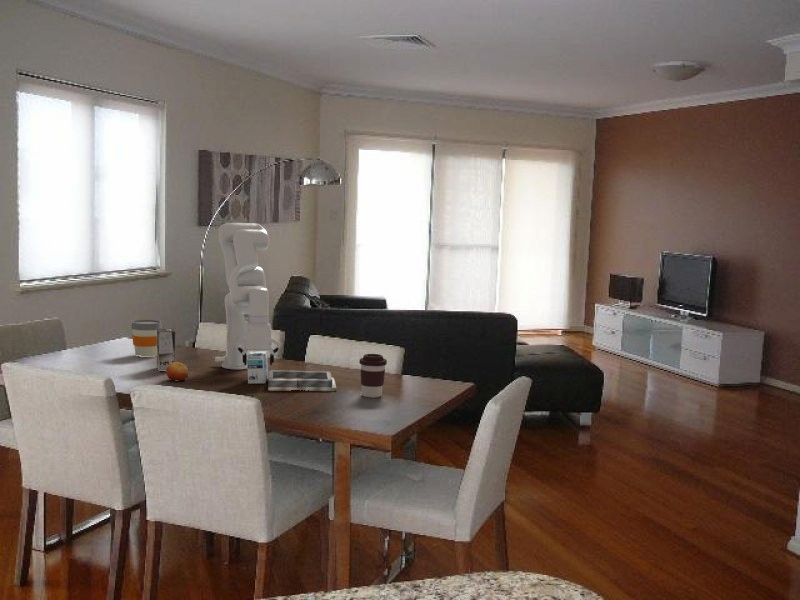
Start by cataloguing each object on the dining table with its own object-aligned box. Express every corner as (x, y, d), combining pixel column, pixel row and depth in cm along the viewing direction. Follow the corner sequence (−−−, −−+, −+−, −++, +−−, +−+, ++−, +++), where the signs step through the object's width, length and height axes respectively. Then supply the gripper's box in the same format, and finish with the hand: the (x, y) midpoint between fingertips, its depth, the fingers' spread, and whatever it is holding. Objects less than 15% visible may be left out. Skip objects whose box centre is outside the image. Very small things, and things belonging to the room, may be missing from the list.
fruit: (173, 372, 312) (181, 356, 310) (186, 385, 310) (194, 369, 307) (157, 376, 306) (165, 359, 303) (170, 389, 303) (178, 373, 300)
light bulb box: (265, 383, 306) (264, 355, 304) (247, 384, 305) (246, 355, 304) (268, 377, 316) (267, 350, 315) (251, 378, 316) (250, 351, 315)
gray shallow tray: (268, 390, 296) (268, 380, 296) (269, 379, 314) (269, 370, 314) (336, 390, 300) (336, 381, 300) (333, 380, 318) (333, 371, 317)
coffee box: (175, 371, 322) (175, 331, 320) (158, 372, 319) (158, 331, 318) (172, 366, 330) (173, 328, 328) (156, 367, 328) (156, 328, 326)
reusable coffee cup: (126, 357, 345) (127, 323, 343) (137, 352, 357) (137, 319, 355) (155, 359, 344) (156, 324, 343) (165, 354, 357) (165, 320, 355)
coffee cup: (361, 399, 289) (363, 358, 287) (355, 392, 298) (356, 352, 297) (388, 398, 292) (390, 357, 290) (381, 392, 301) (382, 352, 299)
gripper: (234, 321, 302) (234, 366, 304) (281, 321, 305) (281, 366, 306) (236, 319, 310) (235, 363, 311) (281, 319, 312) (281, 363, 313)
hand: (258, 364), depth 308 cm, fingers open, 9 cm apart
